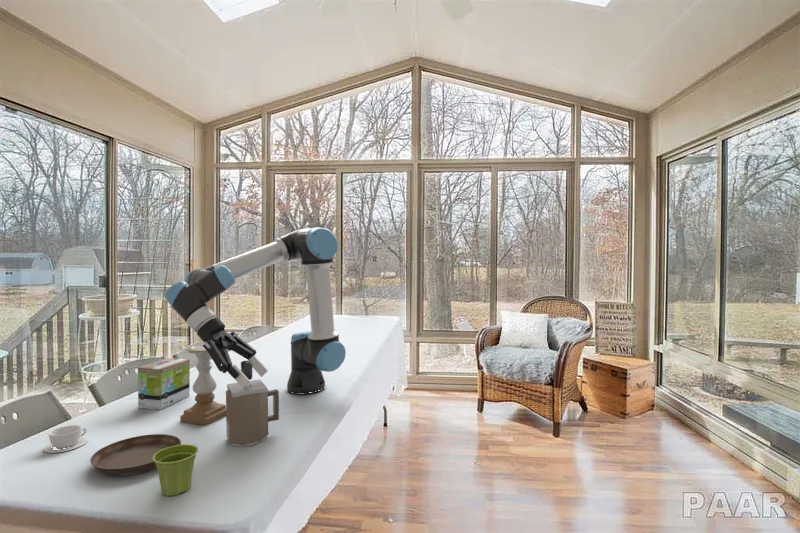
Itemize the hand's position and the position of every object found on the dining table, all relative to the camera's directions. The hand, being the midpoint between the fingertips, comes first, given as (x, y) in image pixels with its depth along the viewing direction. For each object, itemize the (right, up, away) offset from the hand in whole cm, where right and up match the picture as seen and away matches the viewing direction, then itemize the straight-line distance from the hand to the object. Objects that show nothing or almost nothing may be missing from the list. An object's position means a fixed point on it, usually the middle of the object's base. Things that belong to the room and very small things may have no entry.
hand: (256, 379), depth 127 cm
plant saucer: (-28, -19, -12) cm, 36 cm away
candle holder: (-23, -18, +17) cm, 34 cm away
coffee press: (-1, -18, +2) cm, 18 cm away
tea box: (-45, -17, +32) cm, 58 cm away
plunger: (-3, -17, +1) cm, 17 cm away
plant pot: (-10, -19, -26) cm, 34 cm away
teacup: (-54, -19, -4) cm, 57 cm away
